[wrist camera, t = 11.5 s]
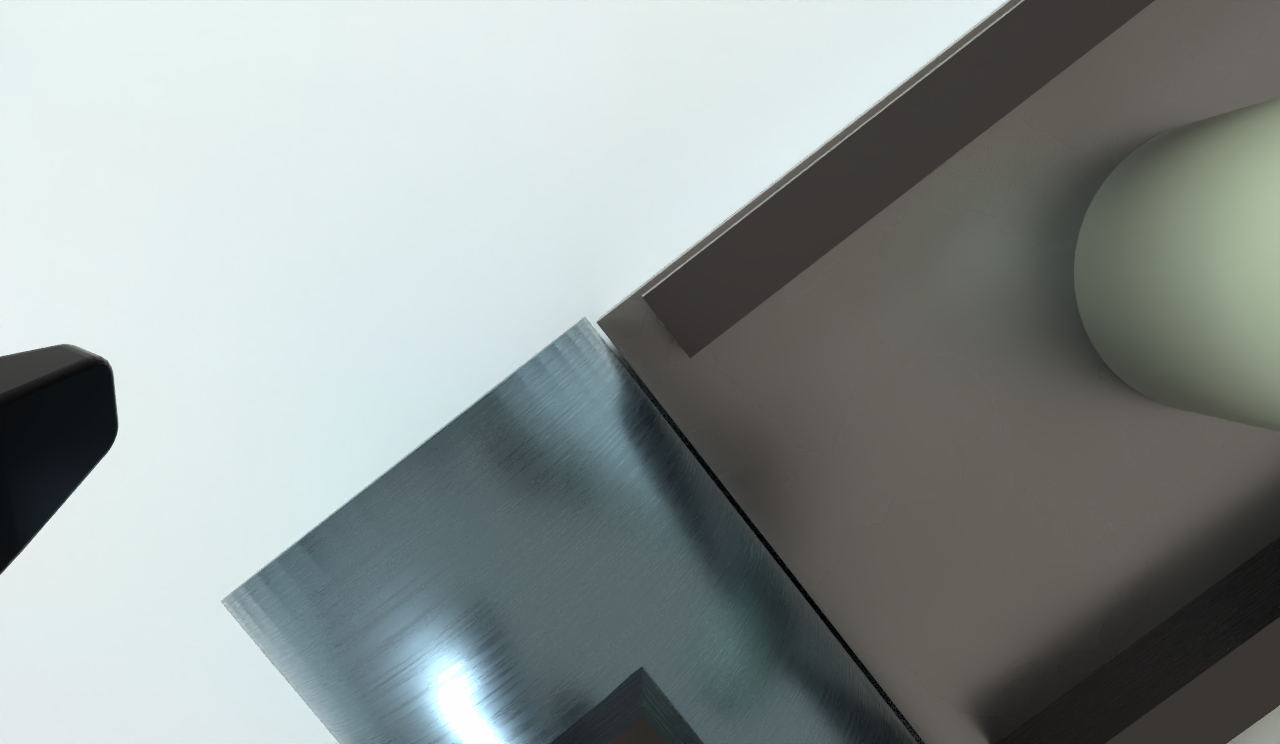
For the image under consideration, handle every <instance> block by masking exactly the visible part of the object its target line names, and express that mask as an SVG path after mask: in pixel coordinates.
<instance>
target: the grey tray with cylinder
mask: <svg viewBox="0 0 1280 744" xmlns="http://www.w3.org/2000/svg"><path fill="white" fill-rule="evenodd" d="M1276 98H1280V0H1008V1H1007V2H1005V3H1004V4H1003V5H1001V6H1000V7H999V8H998V9H996V10H995V11H994V12H992V13H991V14H990V15H989V16H987V17H986V18H985V19H983V20H982V21H981V22H980V23H978V24H977V25H976V26H974V27H973V28H972V29H971V30H969V31H968V32H967V33H965V34H964V35H963V36H962V37H960V38H959V39H958V40H956V41H955V42H954V43H953V44H951V45H950V46H949V47H947V48H946V49H945V50H944V51H942V52H941V53H940V54H938V55H937V56H936V57H935V58H933V59H932V60H931V61H929V62H928V63H927V64H926V65H924V66H923V67H922V68H920V69H919V70H918V71H917V72H915V73H914V74H913V75H911V76H910V77H909V78H908V79H906V80H905V81H904V82H902V83H901V84H900V85H899V86H897V87H896V88H895V89H893V90H892V91H891V92H890V93H888V94H887V95H886V96H884V97H883V98H882V99H881V100H879V101H878V102H877V103H875V104H874V105H873V106H872V107H870V108H869V109H868V110H866V111H865V112H864V113H863V114H861V115H860V116H859V117H857V118H856V119H855V120H854V121H852V122H851V123H850V124H848V125H847V126H846V127H845V128H843V129H842V130H841V131H839V132H838V133H837V134H836V135H834V136H833V137H832V138H830V139H829V140H828V141H827V142H825V143H824V144H823V145H822V146H820V147H819V148H818V149H816V150H815V151H814V152H813V153H811V154H810V155H809V156H807V157H806V158H805V159H804V160H802V161H801V162H800V163H798V164H797V165H796V166H795V167H793V168H792V169H791V170H789V171H788V172H787V173H786V174H784V175H783V176H782V177H780V178H779V179H778V180H777V181H775V182H774V183H773V184H771V185H770V186H769V187H768V188H766V189H765V190H764V191H762V192H761V193H760V194H759V195H757V196H756V197H755V198H753V199H752V200H751V201H750V202H748V203H747V204H746V205H744V206H743V207H742V208H741V209H739V210H738V211H737V212H735V213H734V214H733V215H732V216H730V217H729V218H728V219H726V220H725V221H724V222H723V223H721V224H720V225H719V226H717V227H716V228H715V229H714V230H712V231H711V232H710V233H708V234H707V235H706V236H705V237H703V238H702V239H701V240H699V241H698V242H697V243H696V244H694V245H693V246H692V247H690V248H689V249H688V250H687V251H685V252H684V253H683V254H681V255H680V256H679V257H678V258H676V259H675V260H674V261H672V262H671V263H670V264H669V265H667V266H666V267H665V268H663V269H662V270H661V271H660V272H658V273H657V274H656V275H654V276H653V277H652V278H651V279H649V280H648V281H647V282H645V283H644V284H643V285H642V286H640V287H639V288H638V289H636V290H635V291H634V292H633V293H631V294H630V295H629V296H627V297H626V298H625V299H624V300H622V301H621V302H620V303H618V304H617V305H616V306H615V307H613V308H612V309H611V310H609V311H608V312H607V313H606V314H604V315H603V316H602V317H600V319H599V320H598V321H597V323H598V325H599V326H600V327H601V329H602V330H603V331H604V332H605V334H606V335H607V336H608V338H609V339H610V340H611V341H612V343H613V344H614V345H615V347H616V348H617V349H618V350H619V352H620V353H621V354H622V356H623V357H624V358H625V359H626V361H627V362H628V363H629V365H630V366H631V367H632V368H633V370H634V371H635V372H636V373H637V375H638V376H639V377H640V379H641V380H642V381H643V382H644V384H645V385H646V386H647V388H648V389H649V390H650V391H651V393H652V394H653V395H654V397H655V398H656V399H657V400H658V402H659V403H660V404H661V406H662V407H663V408H664V409H665V411H666V412H667V413H668V415H669V416H670V417H671V418H672V420H673V421H674V422H675V424H676V425H677V426H678V427H679V429H680V430H681V431H682V432H683V434H684V435H685V436H686V438H687V439H688V440H689V441H690V443H691V444H692V445H693V447H694V448H695V449H696V450H697V452H698V453H699V454H700V456H701V457H702V458H703V459H704V461H705V462H706V463H707V465H708V466H709V467H710V468H711V470H712V471H713V472H714V474H715V475H716V476H717V477H718V479H719V480H720V481H721V483H722V484H723V485H724V486H725V488H726V489H727V490H728V491H729V493H730V494H731V495H732V497H733V498H734V499H735V500H736V502H737V503H738V504H739V506H740V507H741V508H742V509H743V511H744V512H745V513H746V515H747V516H748V517H749V518H750V520H751V521H752V522H753V524H754V525H755V526H756V527H757V529H758V530H759V531H760V533H761V534H762V535H763V536H764V538H765V539H766V540H767V542H768V543H769V544H770V545H771V547H772V548H773V549H774V550H775V552H776V553H777V554H778V556H779V557H780V558H781V559H782V561H783V562H784V563H785V565H786V566H787V567H788V568H789V570H790V571H791V572H792V574H793V575H794V576H795V577H796V579H797V580H798V581H799V583H800V584H801V585H802V586H803V588H804V589H805V590H806V592H807V593H808V594H809V595H810V597H811V598H812V599H813V601H814V602H815V603H816V604H817V606H818V607H819V608H820V609H821V611H822V612H823V613H824V615H825V616H826V617H827V618H828V620H829V621H830V622H831V624H832V625H833V626H834V627H835V629H836V630H837V631H838V633H839V634H840V635H841V636H842V638H843V639H844V640H845V642H846V643H847V644H848V645H849V647H850V648H851V649H852V651H853V652H854V653H855V654H856V656H857V657H858V658H859V660H860V661H861V662H862V663H863V665H864V666H865V667H866V668H867V670H868V671H869V672H870V674H871V675H872V676H873V677H874V679H875V680H876V681H877V683H878V684H879V685H880V686H881V688H882V689H883V690H884V692H885V693H886V694H887V695H888V697H889V698H890V699H891V701H892V702H893V703H894V704H895V706H896V707H897V708H898V710H899V711H900V712H901V713H902V715H903V716H904V717H905V718H906V720H907V721H908V722H909V724H910V725H911V726H912V727H913V729H914V730H915V731H916V733H917V734H918V735H919V736H920V738H921V739H922V740H923V742H924V743H925V744H1226V743H1228V742H1229V741H1231V740H1232V739H1233V738H1235V737H1236V736H1238V735H1239V734H1240V733H1242V732H1243V731H1244V730H1246V729H1247V728H1249V727H1250V726H1251V725H1253V724H1254V723H1256V722H1257V721H1258V720H1260V719H1261V718H1263V717H1264V716H1265V715H1267V714H1268V713H1270V712H1271V711H1272V710H1274V709H1275V708H1276V707H1278V706H1279V705H1280V432H1278V431H1274V430H1269V429H1265V428H1260V427H1256V426H1251V425H1247V424H1242V423H1238V422H1233V421H1229V420H1224V419H1220V418H1215V417H1211V416H1206V415H1202V414H1197V413H1193V412H1188V411H1184V410H1179V409H1176V408H1173V407H1170V406H1167V405H1163V404H1160V403H1158V402H1156V401H1154V400H1152V399H1150V398H1148V397H1146V396H1144V395H1142V394H1141V393H1139V392H1138V391H1136V390H1135V389H1133V388H1132V387H1130V386H1129V385H1127V384H1126V383H1125V382H1124V381H1123V380H1122V379H1120V378H1119V377H1118V376H1117V375H1116V374H1115V373H1114V372H1113V371H1112V370H1111V369H1110V368H1109V366H1108V365H1107V364H1106V363H1105V362H1104V361H1103V359H1102V358H1101V357H1100V355H1099V354H1098V352H1097V351H1096V349H1095V347H1094V346H1093V344H1092V343H1091V341H1090V338H1089V336H1088V334H1087V332H1086V330H1085V328H1084V326H1083V323H1082V319H1081V316H1080V313H1079V310H1078V306H1077V300H1076V295H1075V288H1074V261H1075V250H1076V245H1077V241H1078V236H1079V231H1080V229H1081V226H1082V223H1083V220H1084V217H1085V215H1086V212H1087V210H1088V208H1089V206H1090V204H1091V202H1092V200H1093V198H1094V196H1095V195H1096V193H1097V192H1098V190H1099V189H1100V187H1101V186H1102V184H1103V183H1104V181H1105V180H1106V178H1107V177H1108V176H1109V175H1110V174H1111V173H1112V172H1113V170H1114V169H1115V168H1116V167H1117V166H1118V165H1119V164H1120V163H1121V162H1122V161H1123V160H1124V159H1125V158H1126V157H1128V156H1129V155H1130V154H1131V153H1132V152H1133V151H1134V150H1136V149H1137V148H1139V147H1140V146H1142V145H1143V144H1145V143H1146V142H1148V141H1149V140H1151V139H1153V138H1155V137H1157V136H1159V135H1161V134H1163V133H1164V132H1166V131H1169V130H1172V129H1174V128H1177V127H1180V126H1183V125H1186V124H1189V123H1193V122H1196V121H1200V120H1203V119H1207V118H1210V117H1214V116H1217V115H1220V114H1224V113H1227V112H1231V111H1234V110H1238V109H1241V108H1245V107H1248V106H1252V105H1255V104H1259V103H1262V102H1266V101H1269V100H1273V99H1276ZM221 603H222V604H223V605H224V606H225V607H226V609H227V610H228V611H229V612H230V613H231V614H232V616H233V617H234V618H235V619H236V620H237V622H238V623H239V624H240V625H241V626H242V628H243V629H244V630H245V631H246V632H247V634H248V635H249V636H250V637H251V638H252V640H253V641H254V642H255V643H256V644H257V646H258V647H259V648H260V649H261V650H262V651H263V653H264V654H265V655H266V656H267V657H268V659H269V660H270V661H271V662H272V663H273V665H274V666H275V667H276V668H277V669H278V671H279V672H280V673H281V674H282V675H283V677H284V678H285V679H286V680H287V681H288V683H289V684H290V685H291V686H292V687H293V688H294V690H295V691H296V692H297V693H298V694H299V696H300V697H301V698H302V699H303V700H304V702H305V703H306V704H307V705H308V706H309V708H310V709H311V710H312V711H313V712H314V714H315V715H316V716H317V717H318V718H319V720H320V721H321V722H322V723H323V724H324V725H325V727H326V728H327V729H328V730H329V731H330V733H331V734H332V735H333V736H334V737H335V739H336V740H337V741H338V742H339V743H340V744H918V743H917V741H916V740H915V739H914V737H913V736H912V735H911V734H910V732H909V731H908V730H907V728H906V727H905V726H904V725H903V723H902V722H901V721H900V720H899V718H898V717H897V716H896V714H895V713H894V712H893V711H892V709H891V708H890V707H889V705H888V704H887V703H886V702H885V700H884V699H883V698H882V696H881V695H880V694H879V693H878V691H877V690H876V689H875V687H874V686H873V685H872V684H871V682H870V681H869V680H868V679H867V677H866V676H865V675H864V673H863V672H862V671H861V670H860V668H859V667H858V666H857V664H856V663H855V662H854V661H853V659H852V658H851V657H850V655H849V654H848V653H847V652H846V650H845V649H844V648H843V646H842V645H841V644H840V643H839V641H838V640H837V639H836V638H835V636H834V635H833V634H832V632H831V631H830V630H829V629H828V627H827V626H826V625H825V623H824V622H823V621H822V620H821V618H820V617H819V616H818V614H817V613H816V612H815V611H814V609H813V608H812V607H811V605H810V604H809V603H808V602H807V600H806V599H805V598H804V596H803V595H802V594H801V593H800V591H799V590H798V589H797V588H796V586H795V585H794V584H793V582H792V581H791V580H790V579H789V577H788V576H787V575H786V573H785V572H784V571H783V570H782V568H781V567H780V566H779V564H778V563H777V562H776V561H775V559H774V558H773V557H772V555H771V554H770V553H769V552H768V550H767V549H766V548H765V547H764V545H763V544H762V543H761V541H760V540H759V539H758V538H757V536H756V535H755V534H754V532H753V531H752V530H751V529H750V527H749V526H748V525H747V523H746V522H745V521H744V520H743V518H742V517H741V516H740V514H739V513H738V512H737V511H736V509H735V508H734V507H733V506H732V504H731V503H730V502H729V500H728V499H727V498H726V497H725V495H724V494H723V493H722V491H721V490H720V489H719V488H718V486H717V485H716V484H715V482H714V481H713V480H712V479H711V477H710V476H709V475H708V473H707V472H706V471H705V470H704V468H703V467H702V466H701V465H700V463H699V462H698V461H697V459H696V458H695V457H694V456H693V454H692V453H691V452H690V450H689V449H688V448H687V447H686V445H685V444H684V443H683V441H682V440H681V439H680V438H679V436H678V435H677V434H676V432H675V431H674V430H673V429H672V427H671V426H670V425H669V424H668V422H667V421H666V420H665V418H664V417H663V416H662V415H661V413H660V412H659V411H658V409H657V408H656V407H655V406H654V404H653V403H652V402H651V400H650V399H649V398H648V397H647V395H646V394H645V393H644V391H643V390H642V389H641V388H640V386H639V385H638V384H637V382H636V381H635V380H634V379H633V377H632V376H631V375H630V374H629V372H628V371H627V370H626V368H625V367H624V366H623V365H622V363H621V362H620V361H619V359H618V358H617V357H616V356H615V354H614V353H613V352H612V350H611V349H610V348H609V347H608V345H607V344H606V343H605V341H604V340H603V339H602V338H601V336H600V335H599V334H598V333H597V331H596V330H595V329H594V327H593V326H592V325H591V324H590V322H589V321H588V320H587V318H586V317H584V318H583V319H581V320H580V321H579V322H578V323H576V324H575V325H574V326H572V327H571V328H570V329H568V330H567V331H566V332H564V333H563V334H562V335H561V336H559V337H558V338H557V339H555V340H554V341H553V342H552V343H550V344H549V345H548V346H546V347H545V348H544V349H542V350H541V351H540V352H539V353H537V354H536V355H535V356H533V357H532V358H531V359H530V360H528V361H527V362H526V363H524V364H523V365H522V366H521V367H519V368H518V369H517V370H515V371H514V372H513V373H512V374H510V375H509V376H508V377H506V378H505V379H504V380H503V381H501V382H500V383H499V384H497V385H496V386H495V387H494V388H492V389H491V390H490V391H488V392H487V393H486V394H485V395H483V396H482V397H481V398H479V399H478V400H477V401H476V402H474V403H473V404H472V405H470V406H469V407H468V408H467V409H465V410H464V411H463V412H461V413H460V414H459V415H458V416H456V417H455V418H454V419H452V420H451V421H450V422H449V423H447V424H446V425H445V426H443V427H442V428H441V429H440V430H438V431H437V432H436V433H434V434H433V435H432V436H431V437H429V438H428V439H427V440H425V441H424V442H423V443H422V444H420V445H419V446H418V447H416V448H415V449H414V450H413V451H411V452H410V453H409V454H408V455H406V456H405V457H404V458H402V459H401V460H400V461H399V462H397V463H396V464H395V465H393V466H392V467H391V468H390V469H388V470H387V471H386V472H384V473H383V474H382V475H381V476H379V477H378V478H377V479H375V480H374V481H373V482H372V483H370V484H369V485H368V486H367V487H365V488H364V489H363V490H361V491H360V492H359V493H358V494H356V495H355V496H354V497H352V498H351V499H350V500H349V501H347V502H346V503H345V504H343V505H342V506H341V507H340V508H338V509H337V510H336V511H335V512H333V513H332V514H331V515H329V516H328V517H327V518H326V519H324V520H323V521H322V522H320V523H319V524H318V525H317V526H315V527H314V528H313V529H312V530H310V531H309V532H308V533H306V534H305V535H304V536H303V537H301V538H300V539H299V540H298V541H296V542H295V543H294V544H292V545H291V546H290V547H289V548H287V549H286V550H285V551H284V552H282V553H281V554H280V555H278V556H277V557H276V558H275V559H273V560H272V561H271V562H270V563H268V564H267V565H266V566H264V567H263V568H262V569H261V570H259V571H258V572H257V573H256V574H254V575H253V576H252V577H250V578H249V579H248V580H247V581H245V582H244V583H243V584H242V585H240V586H239V587H238V588H237V589H235V590H234V591H233V592H231V593H230V594H229V595H228V596H226V597H225V598H224V599H223V600H222V601H221Z"/></svg>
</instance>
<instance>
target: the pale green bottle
mask: <svg viewBox="0 0 1280 744" xmlns="http://www.w3.org/2000/svg"><path fill="white" fill-rule="evenodd" d="M1074 288H1075V295H1076V300H1077V306H1078V310H1079V313H1080V316H1081V319H1082V323H1083V326H1084V328H1085V330H1086V332H1087V334H1088V336H1089V338H1090V341H1091V343H1092V344H1093V346H1094V347H1095V349H1096V351H1097V352H1098V354H1099V355H1100V357H1101V358H1102V359H1103V361H1104V362H1105V363H1106V364H1107V365H1108V366H1109V368H1110V369H1111V370H1112V371H1113V372H1114V373H1115V374H1116V375H1117V376H1118V377H1119V378H1120V379H1122V380H1123V381H1124V382H1125V383H1126V384H1127V385H1129V386H1130V387H1132V388H1133V389H1135V390H1136V391H1138V392H1139V393H1141V394H1142V395H1144V396H1146V397H1148V398H1150V399H1152V400H1154V401H1156V402H1158V403H1160V404H1163V405H1167V406H1170V407H1173V408H1176V409H1179V410H1184V411H1188V412H1193V413H1197V414H1202V415H1206V416H1211V417H1215V418H1220V419H1224V420H1229V421H1233V422H1238V423H1242V424H1247V425H1251V426H1256V427H1260V428H1265V429H1269V430H1274V431H1278V432H1280V98H1276V99H1273V100H1269V101H1266V102H1262V103H1259V104H1255V105H1252V106H1248V107H1245V108H1241V109H1238V110H1234V111H1231V112H1227V113H1224V114H1220V115H1217V116H1214V117H1210V118H1207V119H1203V120H1200V121H1196V122H1193V123H1189V124H1186V125H1183V126H1180V127H1177V128H1174V129H1172V130H1169V131H1166V132H1164V133H1163V134H1161V135H1159V136H1157V137H1155V138H1153V139H1151V140H1149V141H1148V142H1146V143H1145V144H1143V145H1142V146H1140V147H1139V148H1137V149H1136V150H1134V151H1133V152H1132V153H1131V154H1130V155H1129V156H1128V157H1126V158H1125V159H1124V160H1123V161H1122V162H1121V163H1120V164H1119V165H1118V166H1117V167H1116V168H1115V169H1114V170H1113V172H1112V173H1111V174H1110V175H1109V176H1108V177H1107V178H1106V180H1105V181H1104V183H1103V184H1102V186H1101V187H1100V189H1099V190H1098V192H1097V193H1096V195H1095V196H1094V198H1093V200H1092V202H1091V204H1090V206H1089V208H1088V210H1087V212H1086V215H1085V217H1084V220H1083V223H1082V226H1081V229H1080V231H1079V236H1078V241H1077V245H1076V250H1075V261H1074Z"/></svg>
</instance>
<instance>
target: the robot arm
mask: <svg viewBox="0 0 1280 744" xmlns="http://www.w3.org/2000/svg"><path fill="white" fill-rule="evenodd" d="M117 432H118V415H117V405H116V396H115V386H114V376H113V370H112V367H111V365H110V364H109V362H108V361H107V360H106V359H104V358H103V357H101V356H98V355H96V354H94V353H91V352H89V351H86V350H84V349H82V348H79V347H77V346H74V345H69V344H62V345H56V346H51V347H46V348H41V349H36V350H31V351H26V352H21V353H16V354H11V355H6V356H1V357H0V574H1V573H2V572H3V571H4V570H5V569H6V568H7V567H8V566H9V565H10V564H11V563H12V561H13V560H14V559H15V558H16V557H17V556H18V555H19V554H20V553H21V552H22V551H23V549H24V548H25V547H26V546H27V545H28V544H29V543H30V541H31V540H32V539H33V538H34V537H35V536H36V534H37V533H38V532H39V531H40V530H41V529H42V528H43V526H44V525H45V524H46V523H47V522H48V521H49V519H50V518H51V517H52V516H53V515H54V514H55V513H56V511H57V510H58V509H59V508H60V507H61V506H62V504H63V503H64V502H65V501H66V500H67V499H68V498H69V496H70V495H71V494H72V493H73V492H74V491H75V489H76V488H77V487H78V486H79V485H80V484H81V483H82V481H83V480H84V479H85V478H86V477H87V476H88V474H89V473H90V472H91V471H92V470H93V469H94V468H95V466H96V465H97V464H98V463H99V462H100V461H101V459H102V458H103V457H104V456H105V455H106V454H107V452H108V451H109V450H110V448H111V446H112V445H113V443H114V441H115V438H116V436H117Z"/></svg>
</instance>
